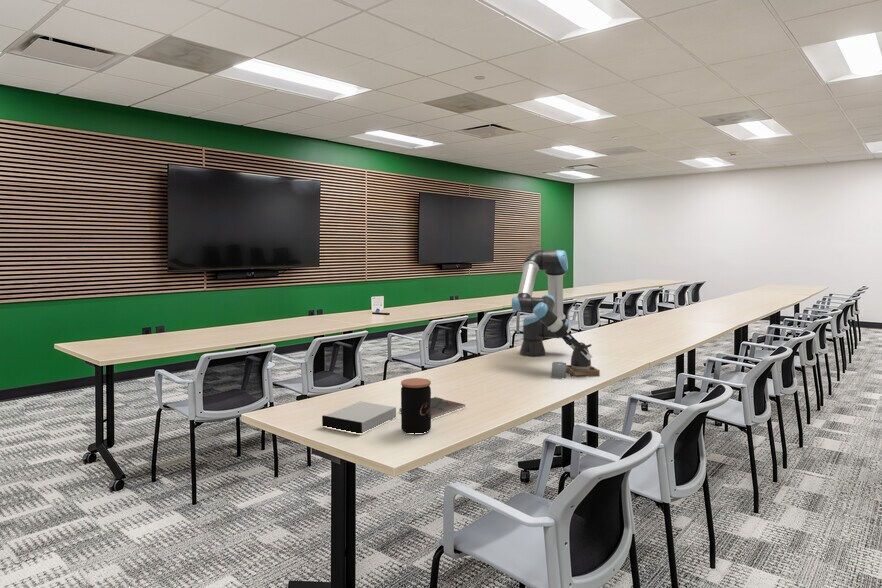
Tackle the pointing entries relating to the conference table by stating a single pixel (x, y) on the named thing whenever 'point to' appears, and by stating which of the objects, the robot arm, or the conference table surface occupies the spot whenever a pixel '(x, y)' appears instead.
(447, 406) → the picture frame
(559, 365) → the grey round-ended cylinder
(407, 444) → the conference table surface
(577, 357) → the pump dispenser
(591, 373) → the tray
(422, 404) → the coffee jar
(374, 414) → the disc drive
